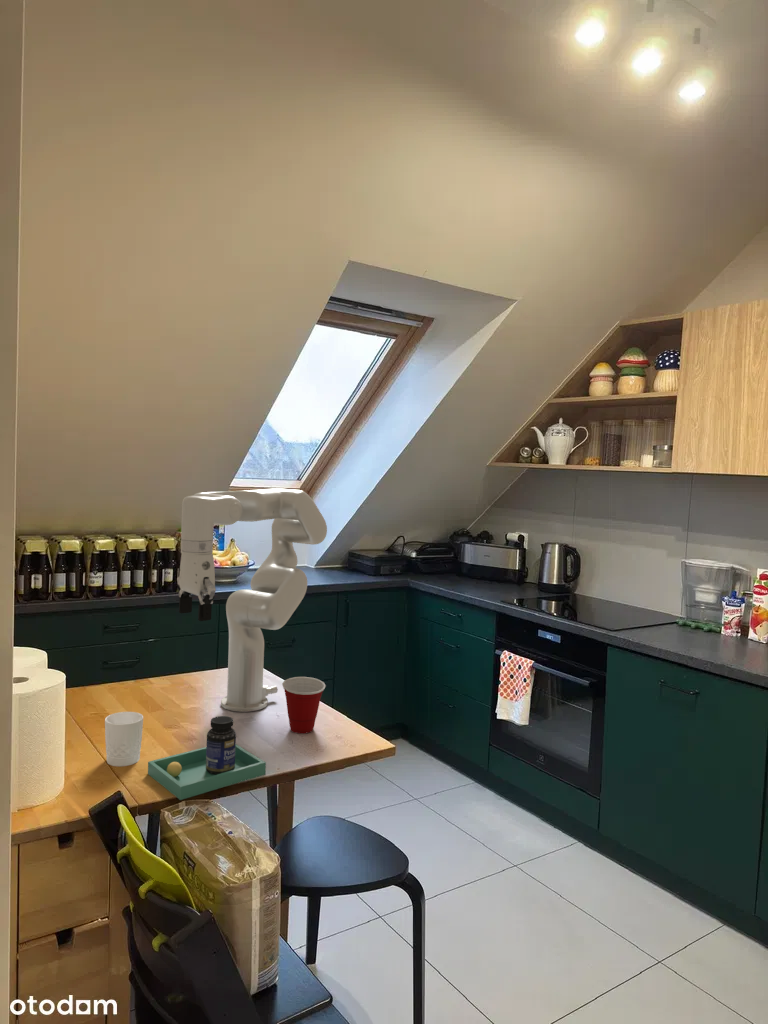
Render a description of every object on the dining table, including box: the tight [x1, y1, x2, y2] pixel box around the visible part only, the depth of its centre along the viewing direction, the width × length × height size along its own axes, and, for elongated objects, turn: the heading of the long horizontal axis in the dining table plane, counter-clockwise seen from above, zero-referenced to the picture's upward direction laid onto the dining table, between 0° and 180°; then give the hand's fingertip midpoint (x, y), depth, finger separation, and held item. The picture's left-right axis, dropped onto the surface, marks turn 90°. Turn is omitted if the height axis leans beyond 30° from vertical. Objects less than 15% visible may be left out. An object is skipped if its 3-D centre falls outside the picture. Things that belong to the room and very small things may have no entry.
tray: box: [147, 743, 267, 801], centre depth 154 cm, size 20×15×3 cm
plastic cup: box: [281, 676, 326, 735], centre depth 183 cm, size 11×11×12 cm
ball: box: [167, 762, 182, 777], centre depth 152 cm, size 3×3×3 cm
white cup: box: [104, 711, 144, 767], centre depth 159 cm, size 8×8×10 cm
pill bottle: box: [205, 715, 237, 775], centre depth 156 cm, size 6×6×11 cm
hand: (194, 616), depth 178 cm, fingers open, 9 cm apart
